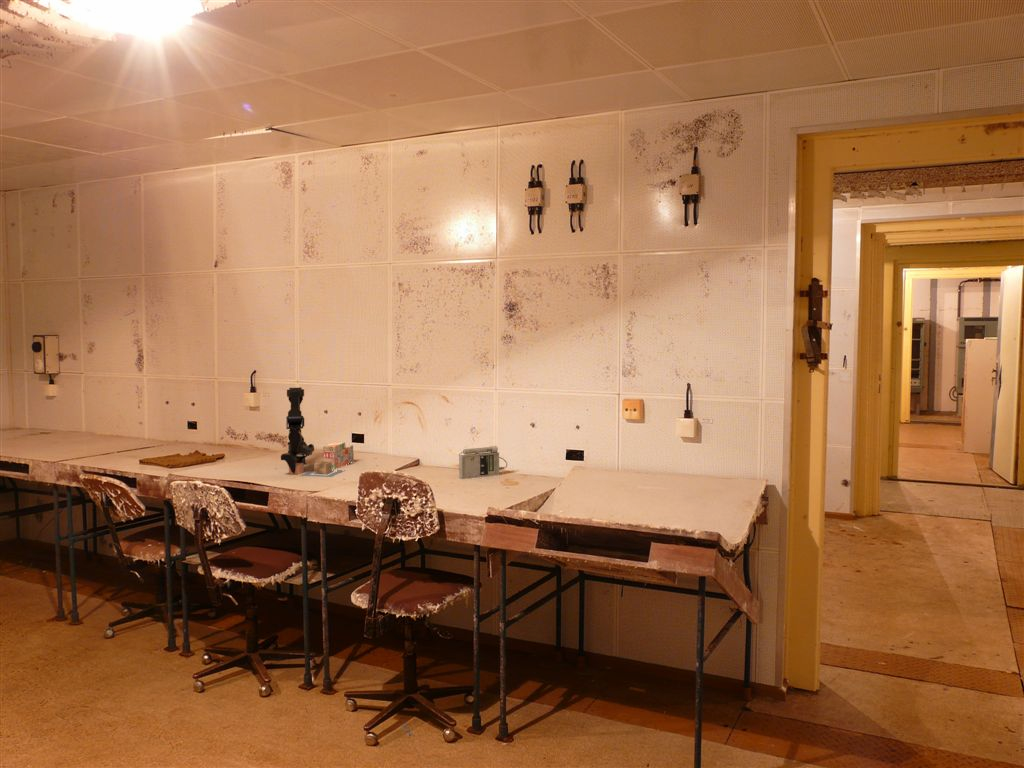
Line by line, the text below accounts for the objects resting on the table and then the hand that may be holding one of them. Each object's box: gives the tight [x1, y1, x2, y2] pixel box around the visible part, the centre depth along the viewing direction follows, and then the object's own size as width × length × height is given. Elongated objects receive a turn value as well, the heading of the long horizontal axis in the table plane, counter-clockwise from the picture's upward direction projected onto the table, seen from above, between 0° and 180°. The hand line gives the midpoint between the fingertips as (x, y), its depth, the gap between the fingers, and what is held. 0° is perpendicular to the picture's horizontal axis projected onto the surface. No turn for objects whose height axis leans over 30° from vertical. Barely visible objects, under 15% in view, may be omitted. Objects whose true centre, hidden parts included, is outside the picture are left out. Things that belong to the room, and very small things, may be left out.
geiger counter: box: [458, 445, 508, 480], centre depth 373 cm, size 14×6×25 cm
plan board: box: [299, 469, 347, 478], centre depth 379 cm, size 16×16×1 cm
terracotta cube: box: [288, 463, 305, 475], centre depth 380 cm, size 5×5×5 cm
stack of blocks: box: [322, 441, 355, 470], centre depth 399 cm, size 21×6×12 cm, turn 166°
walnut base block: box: [313, 461, 333, 474], centre depth 379 cm, size 6×6×5 cm
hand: (296, 471), depth 380 cm, fingers closed on terracotta cube, 5 cm apart
